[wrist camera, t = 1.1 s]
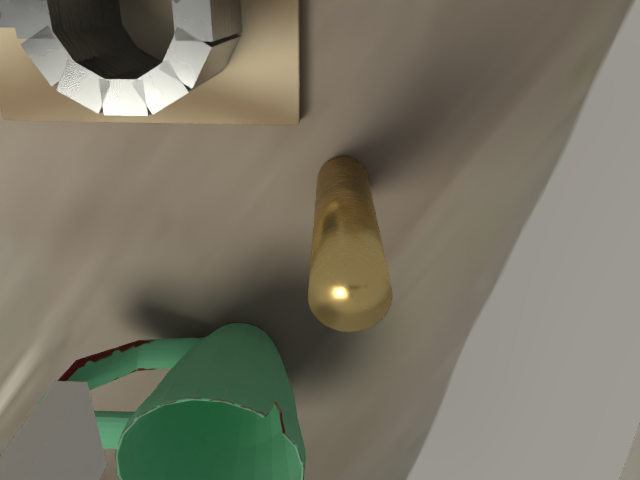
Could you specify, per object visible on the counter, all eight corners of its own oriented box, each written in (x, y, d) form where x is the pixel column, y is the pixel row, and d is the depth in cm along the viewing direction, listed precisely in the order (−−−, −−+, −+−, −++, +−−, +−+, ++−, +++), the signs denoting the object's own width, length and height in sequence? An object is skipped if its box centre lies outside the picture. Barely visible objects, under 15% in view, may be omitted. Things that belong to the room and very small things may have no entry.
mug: (326, 307, 34) (324, 420, 25) (295, 417, 38) (284, 548, 29) (103, 261, 33) (15, 360, 23) (96, 379, 37) (18, 502, 28)
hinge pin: (367, 205, 31) (389, 332, 19) (317, 204, 31) (307, 330, 19) (369, 156, 29) (395, 260, 18) (317, 155, 29) (307, 258, 18)
